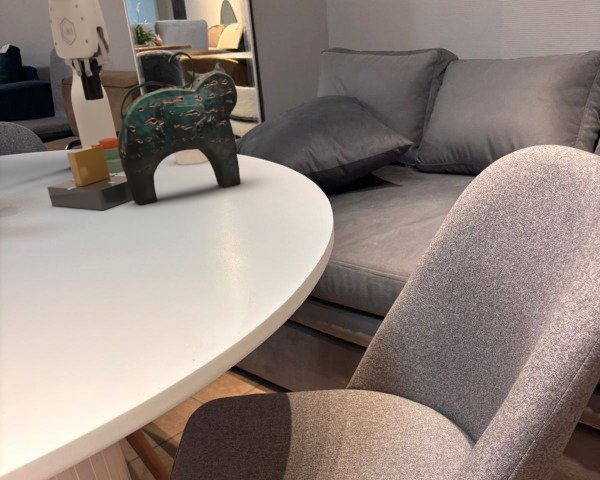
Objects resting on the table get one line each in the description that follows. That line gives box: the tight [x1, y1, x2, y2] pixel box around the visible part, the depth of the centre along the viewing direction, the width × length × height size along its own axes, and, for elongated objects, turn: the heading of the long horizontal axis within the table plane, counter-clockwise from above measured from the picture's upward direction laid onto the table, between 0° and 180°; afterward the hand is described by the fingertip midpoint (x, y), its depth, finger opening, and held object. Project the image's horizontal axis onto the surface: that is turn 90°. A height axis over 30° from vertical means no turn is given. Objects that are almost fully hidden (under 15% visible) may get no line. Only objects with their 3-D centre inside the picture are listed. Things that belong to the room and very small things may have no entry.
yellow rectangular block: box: [66, 144, 111, 186], centre depth 101 cm, size 6×2×5 cm, turn 148°
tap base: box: [46, 173, 134, 211], centre depth 104 cm, size 12×10×3 cm
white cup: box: [173, 149, 209, 166], centre depth 124 cm, size 8×8×10 cm
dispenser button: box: [99, 137, 118, 149], centre depth 126 cm, size 4×4×2 cm
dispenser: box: [104, 147, 124, 174], centre depth 127 cm, size 10×8×4 cm
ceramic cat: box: [117, 51, 241, 206], centre depth 98 cm, size 20×6×20 cm, turn 119°
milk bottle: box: [69, 61, 118, 149], centre depth 137 cm, size 8×8×20 cm
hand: (94, 99), depth 121 cm, fingers closed
